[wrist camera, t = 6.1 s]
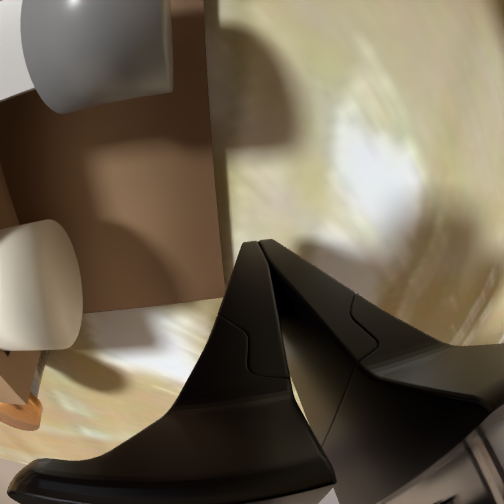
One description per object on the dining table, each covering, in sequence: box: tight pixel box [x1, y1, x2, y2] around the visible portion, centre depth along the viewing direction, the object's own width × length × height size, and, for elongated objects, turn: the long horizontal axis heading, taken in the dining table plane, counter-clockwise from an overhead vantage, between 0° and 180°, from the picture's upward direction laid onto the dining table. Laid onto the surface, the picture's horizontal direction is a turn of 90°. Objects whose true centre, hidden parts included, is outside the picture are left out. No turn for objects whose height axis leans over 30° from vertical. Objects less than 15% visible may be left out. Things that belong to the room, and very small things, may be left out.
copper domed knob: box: [0, 350, 49, 431], centre depth 12 cm, size 3×3×4 cm
